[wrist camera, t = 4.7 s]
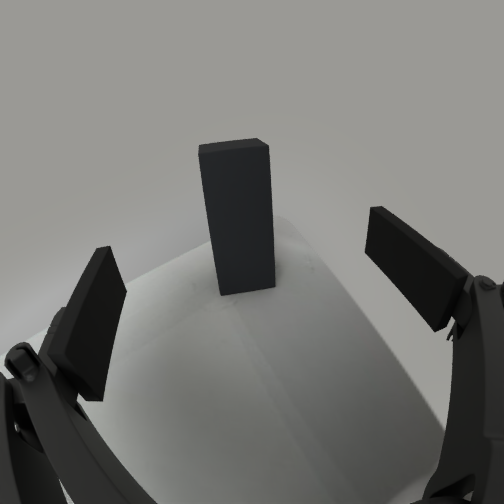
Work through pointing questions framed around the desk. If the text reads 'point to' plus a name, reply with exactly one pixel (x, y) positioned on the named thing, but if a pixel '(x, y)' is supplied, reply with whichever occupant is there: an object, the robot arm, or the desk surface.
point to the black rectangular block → (239, 213)
